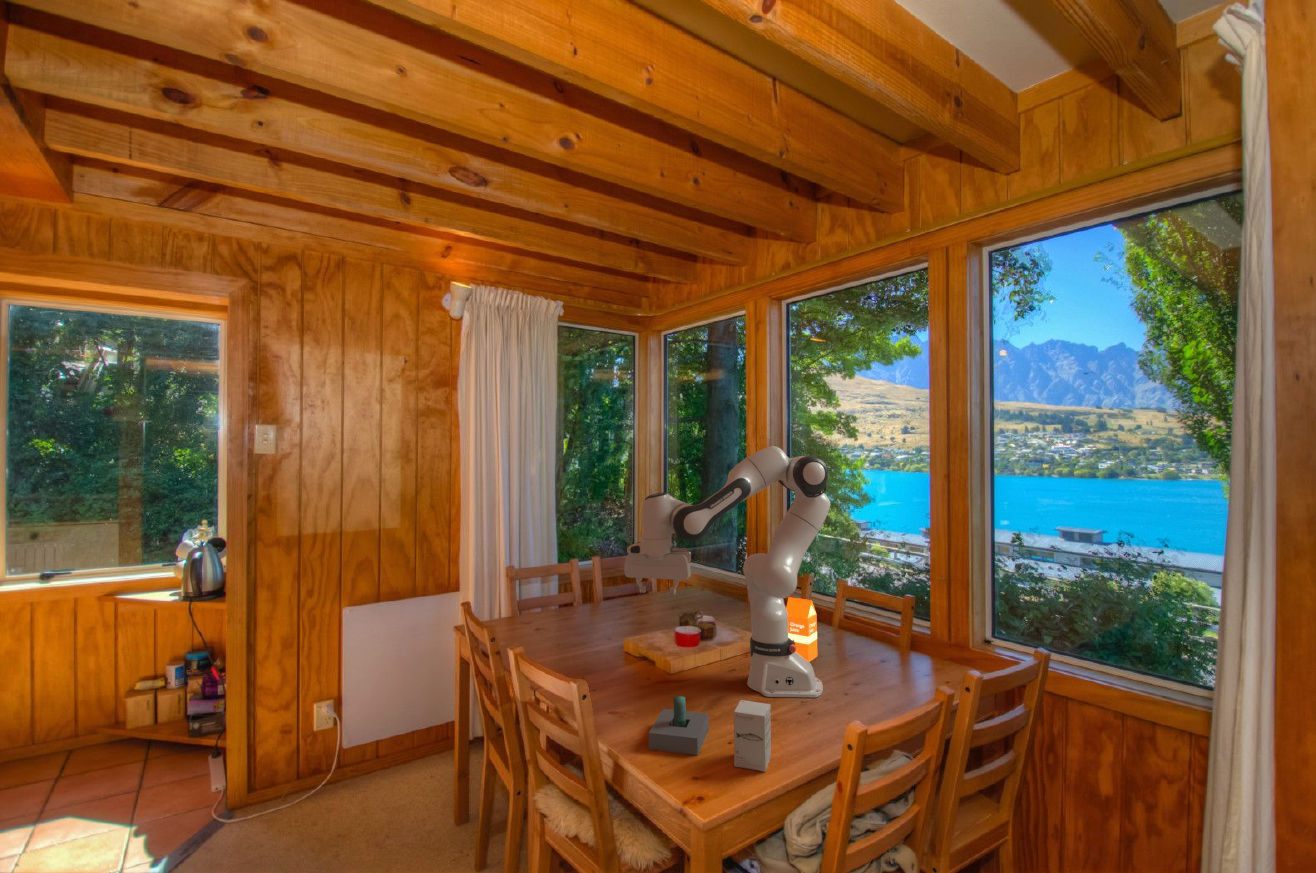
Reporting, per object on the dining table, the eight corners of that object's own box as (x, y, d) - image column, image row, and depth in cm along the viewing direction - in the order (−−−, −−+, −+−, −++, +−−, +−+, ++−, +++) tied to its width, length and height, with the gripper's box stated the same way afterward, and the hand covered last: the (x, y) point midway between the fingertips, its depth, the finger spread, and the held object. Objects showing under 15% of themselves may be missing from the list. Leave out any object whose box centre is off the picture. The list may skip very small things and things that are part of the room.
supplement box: (733, 767, 138) (732, 711, 138) (740, 752, 145) (740, 698, 145) (765, 773, 135) (764, 715, 135) (772, 757, 142) (771, 702, 142)
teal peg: (687, 736, 153) (686, 696, 153) (684, 742, 150) (683, 701, 150) (675, 735, 153) (675, 695, 154) (672, 740, 151) (672, 700, 151)
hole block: (708, 728, 157) (708, 713, 157) (697, 755, 143) (697, 738, 143) (663, 723, 160) (663, 708, 160) (648, 749, 146) (648, 732, 147)
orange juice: (808, 662, 204) (807, 602, 205) (784, 657, 210) (783, 599, 210) (817, 655, 210) (816, 597, 211) (794, 651, 216) (793, 594, 216)
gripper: (693, 546, 183) (693, 592, 183) (628, 544, 189) (629, 589, 188) (688, 549, 177) (689, 597, 177) (622, 547, 183) (622, 593, 182)
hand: (657, 593), depth 183 cm, fingers open, 8 cm apart
